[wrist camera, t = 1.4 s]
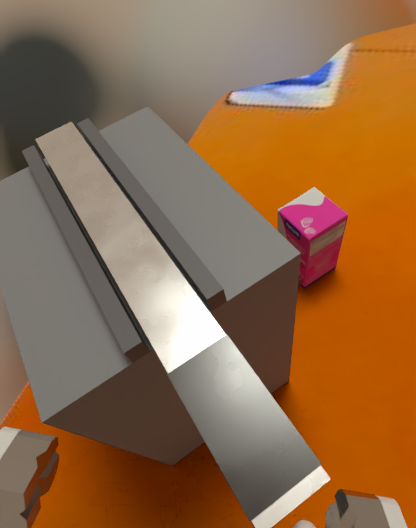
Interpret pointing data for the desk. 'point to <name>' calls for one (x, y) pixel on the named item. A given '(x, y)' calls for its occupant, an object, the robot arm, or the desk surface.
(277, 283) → the grey grooved block
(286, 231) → the supplement box
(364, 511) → the robot arm
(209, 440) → the bar
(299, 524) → the woman figurine
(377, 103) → the desk surface
